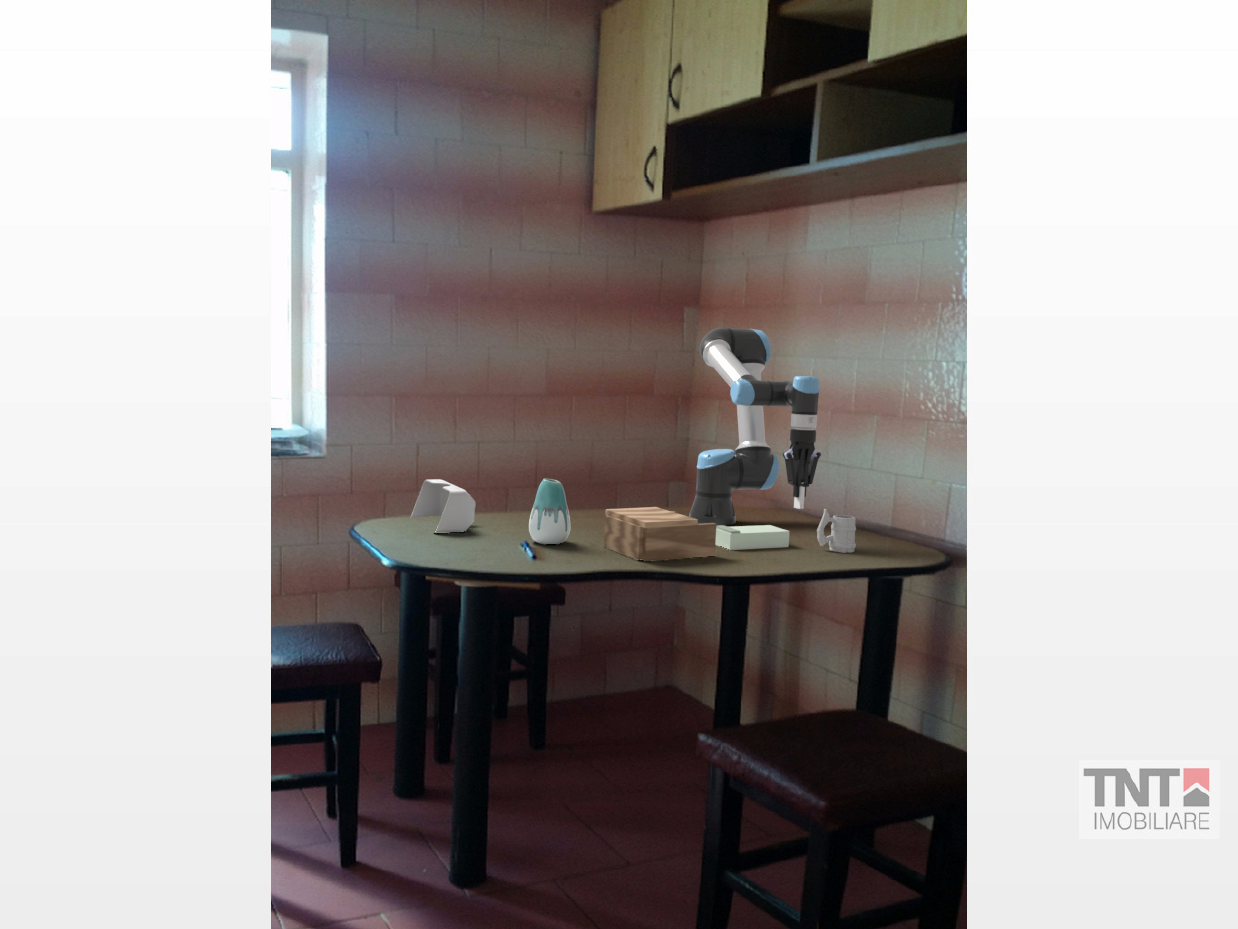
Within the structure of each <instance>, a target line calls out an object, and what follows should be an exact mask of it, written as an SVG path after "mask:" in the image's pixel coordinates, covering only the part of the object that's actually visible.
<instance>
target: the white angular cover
mask: <svg viewBox="0 0 1238 929" xmlns="http://www.w3.org/2000/svg"><path fill="white" fill-rule="evenodd" d="M475 510H476V500H474V498H473V497H472V496H471V494H470V493H468V491H466V489H464V488H461V487H459V486H457V485H455V484H453V483H450V482H448V481H446V480H443V479H439V478H437V479H436V478H435V479H434V478H433V479H425V480H424V482H423V483H422V485H421V489H420V491H419V493H418V496H417V499H416V501H415V505H414V507H413V510H412V513H411V515H410V518H411V517H428V516H441V519H440V521H439V524H438V526H437V529H436V531H435V532H461V531H465V532H466V531H467V530H468V529H469V528H470V527H471V525H472V524H473V523H474V521H475Z"/></svg>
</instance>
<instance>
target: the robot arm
mask: <svg viewBox="0 0 1238 929" xmlns="http://www.w3.org/2000/svg"><path fill="white" fill-rule="evenodd" d="M699 343H700V344H699V353H700V354H699V355H700V357H701V359H702V360H703V362H704V363H705V364H706V365H707V366H708V367H711V368H713V369H714V370H715V371H716V372H717V373H718V374H719V376H720V377H721V378H722V379H723V380H724V381H725V383H726V384H727V385H728V386H729V387H730V390H729V391H730V392H729V393H730V398H731V401H732V403H733V404H734V405H736V412H737V414H736V415H737V426H738V427H737V428H738V429H737V430H738V441H739V444H738V445H737V447H736V448H735V449H730V448H715V449H709V450H704V451H702V452H700V453H699V454H698V457H697V465H696V482H695V483H696V486H695V497H694V500H693V503H692V504H691V505H692V506H691V508H690V510H689V513H688V517H691V518H694V519H698V524H704V523H715V524H717V525H716V526H718V525H724V526H729V525H734V524H736V521H737V519H736V518H737V516H736V511H735V508H734V504H733V501H732V499H733V498H732V496H733V495H732V494H733V490H734V491H735V490H743V491H745V490H746V491H747V490H750V491H751V490H752V491H753V490H755V491H760V490H761V491H762V490H769V489H771V488H772V487H774V485H775V483H776V482H777V479H778V476H779V470H780V462H779V459H778V456H777V455H776V454H773V453H772V448H771V446H769V445H768V444H767V442H766V432H765V431H766V428H765V416H764V415H765V414H764V407H766V406H767V407H787V408H788V407H790V408H791V415H790V427H791V429H790V430H789V431H790V432H789V441H790V446H789V449H788V450H787V451H783V452H782V457H783V458H784V462H785V469H786V470H785V471H786V478H787V483H788V484H789V485H791V486H792V488H793V490H792V491H793V492H792V496H793V508H794V509H797V510H803V509H805V498H806V497H807V488H809V487H810V485H813V482H814V477H815V474H816V471H817V466H818V462H819V460H820V457H821V456H822V453H821V452H819V451H817V450H816V446H815V443H816V441H817V431H816V428H817V427H818V426H817V424H818V423H817V422H818V411H819V410H818V408H819V396H820V395H819V394H820V379H819V378H818V377H817V376H809V375H805V376H803V375H795V376H794V377H793V381H790V380H783V381H782V380H780V381H779V380H762V372H763V371H764V369H765V368H766V365H767V364H768V363H769V361H770V360H771V354H772V351H771V350H772V348H771V343H770V339H769V337H768V334H766V333H765V332H764V330H763V331H762V330H760V329H754V328H735V327H734V328H733V327H717V328H714V329H711V330H709V331H708V332H707V333H705V335H704V336H703V337H702V339H701V341H700V342H699Z"/></svg>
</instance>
